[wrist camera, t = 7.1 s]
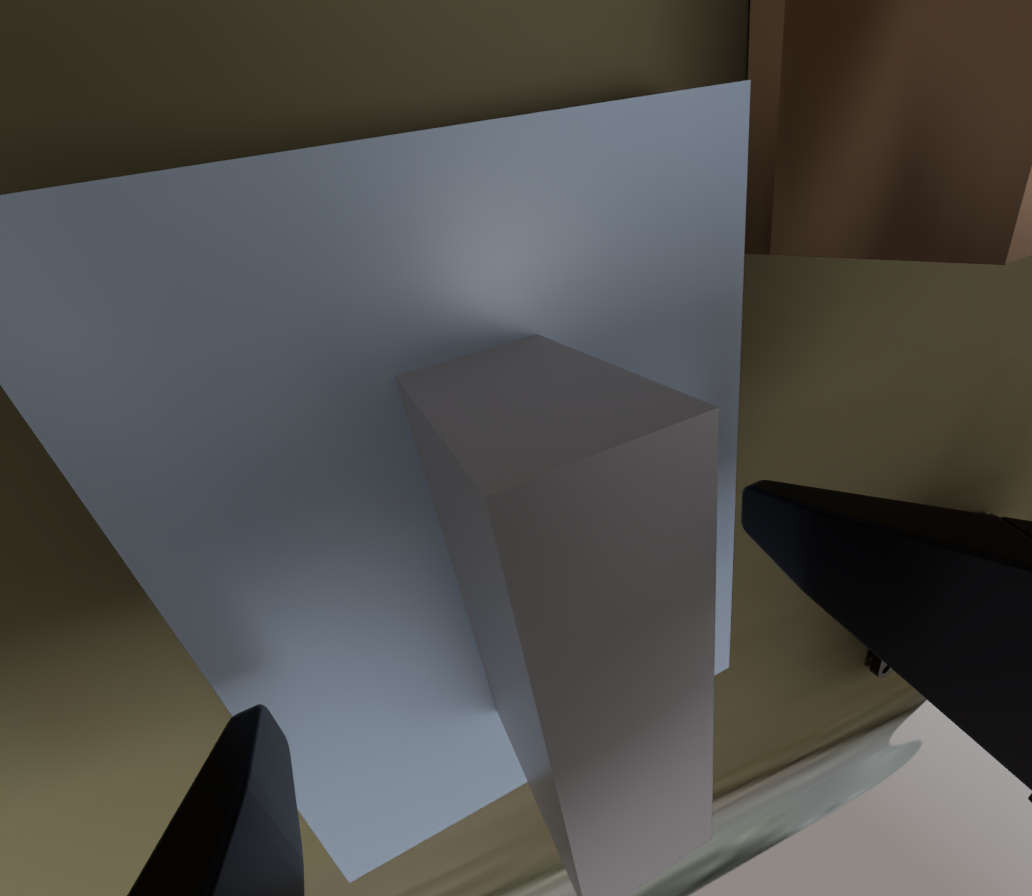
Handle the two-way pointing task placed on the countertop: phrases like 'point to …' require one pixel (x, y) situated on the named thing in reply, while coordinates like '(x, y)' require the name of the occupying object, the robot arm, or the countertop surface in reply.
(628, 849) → the lid
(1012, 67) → the box
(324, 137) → the countertop surface
